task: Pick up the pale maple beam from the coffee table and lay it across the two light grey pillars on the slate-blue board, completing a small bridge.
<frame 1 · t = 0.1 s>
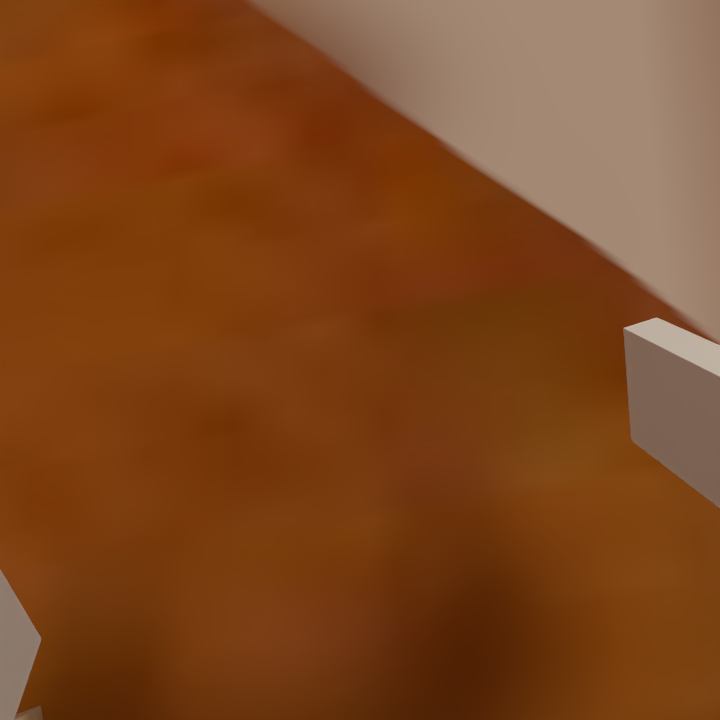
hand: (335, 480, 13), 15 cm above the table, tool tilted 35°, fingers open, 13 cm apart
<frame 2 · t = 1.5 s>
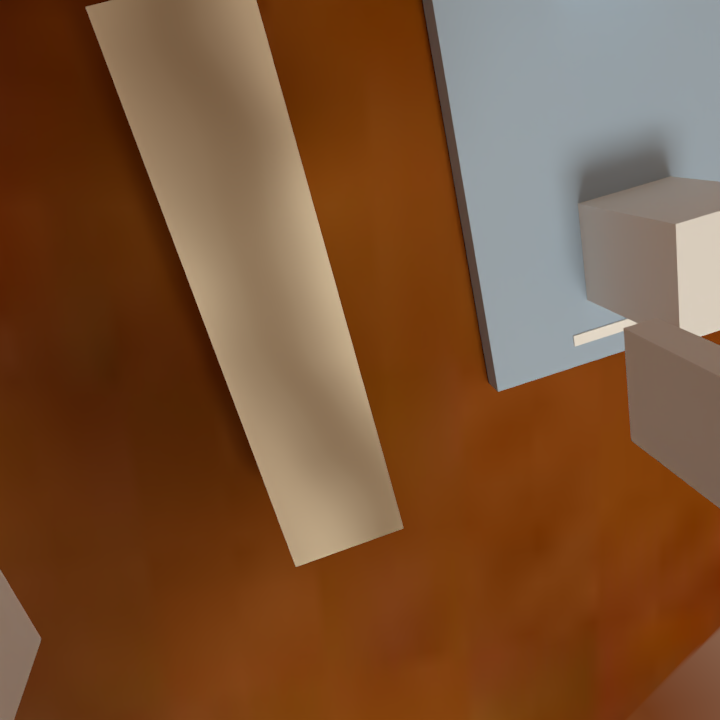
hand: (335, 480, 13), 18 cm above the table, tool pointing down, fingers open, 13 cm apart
maple beam: (262, 277, 30), on the table
blueprint board: (602, 93, 30), on the table
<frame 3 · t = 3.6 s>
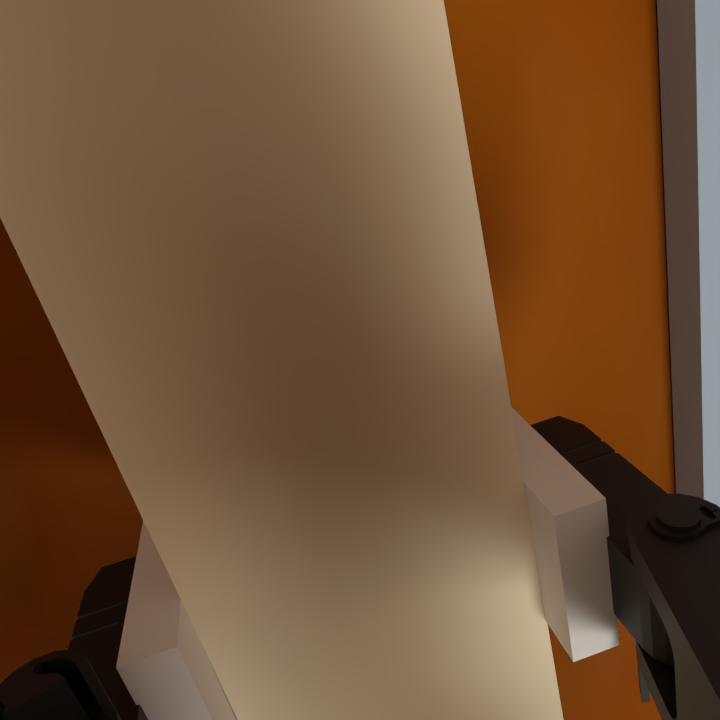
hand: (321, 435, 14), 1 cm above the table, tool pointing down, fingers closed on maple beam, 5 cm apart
maple beam: (312, 410, 16), on the table, touching gripper
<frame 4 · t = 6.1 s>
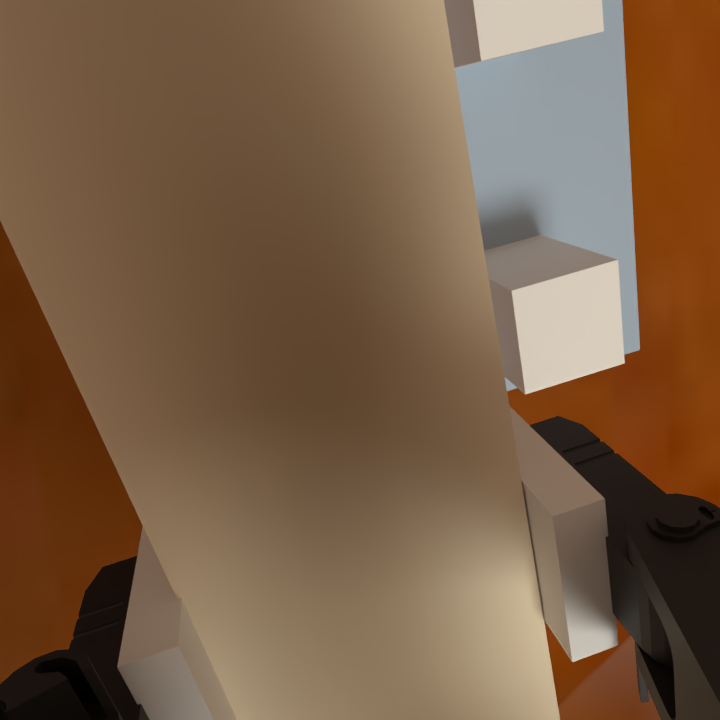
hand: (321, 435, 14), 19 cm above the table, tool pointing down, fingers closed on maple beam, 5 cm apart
maple beam: (310, 410, 16), point 18 cm above the table, touching gripper
blueprint board: (476, 159, 33), on the table
when the fingers open (11 cm above the table, at t = 8.9 s): maple beam drops 2 cm, resting on blueprint board.
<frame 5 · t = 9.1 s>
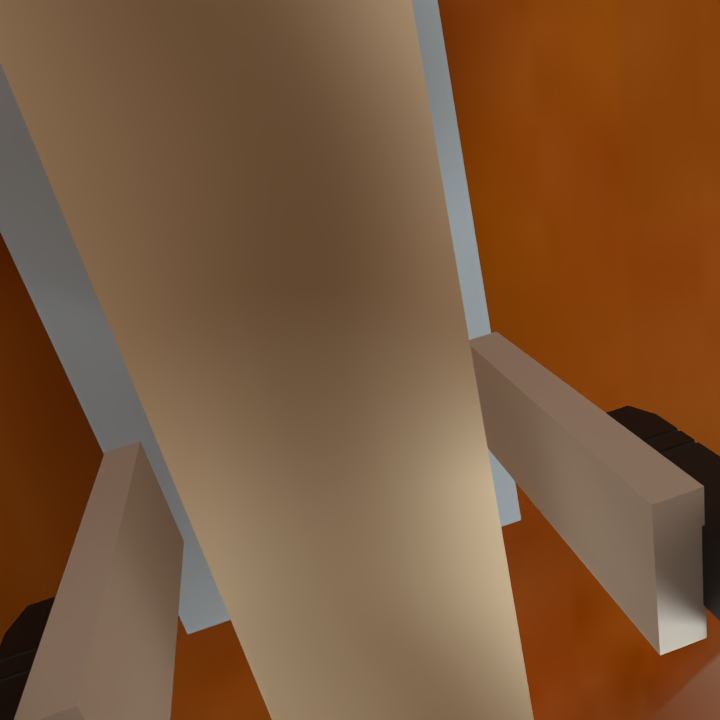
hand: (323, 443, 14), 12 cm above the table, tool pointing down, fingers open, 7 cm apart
maple beam: (305, 384, 17), point 8 cm above the table, touching blueprint board
blueprint board: (277, 304, 25), on the table
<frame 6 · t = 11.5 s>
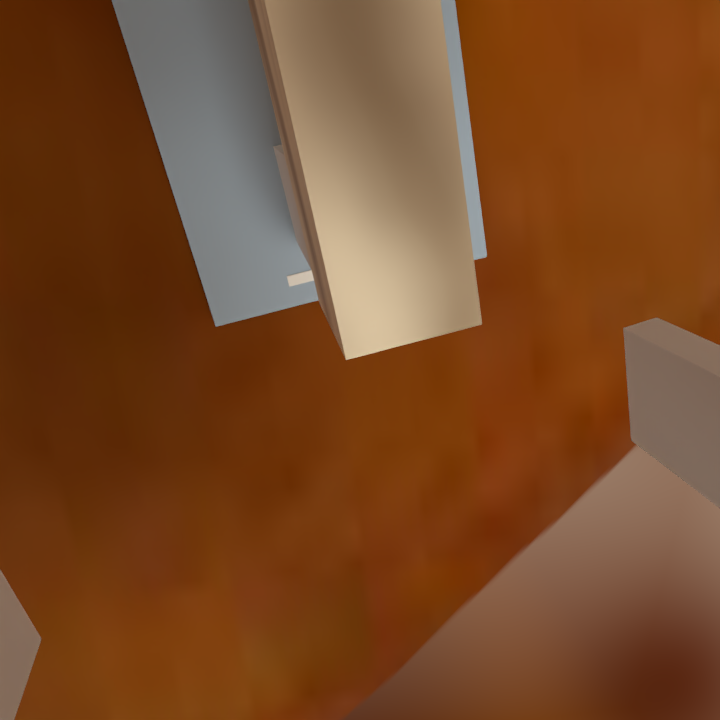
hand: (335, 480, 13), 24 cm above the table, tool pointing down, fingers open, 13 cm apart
maple beam: (319, 19, 24), point 8 cm above the table, touching blueprint board
blueprint board: (297, 41, 31), on the table
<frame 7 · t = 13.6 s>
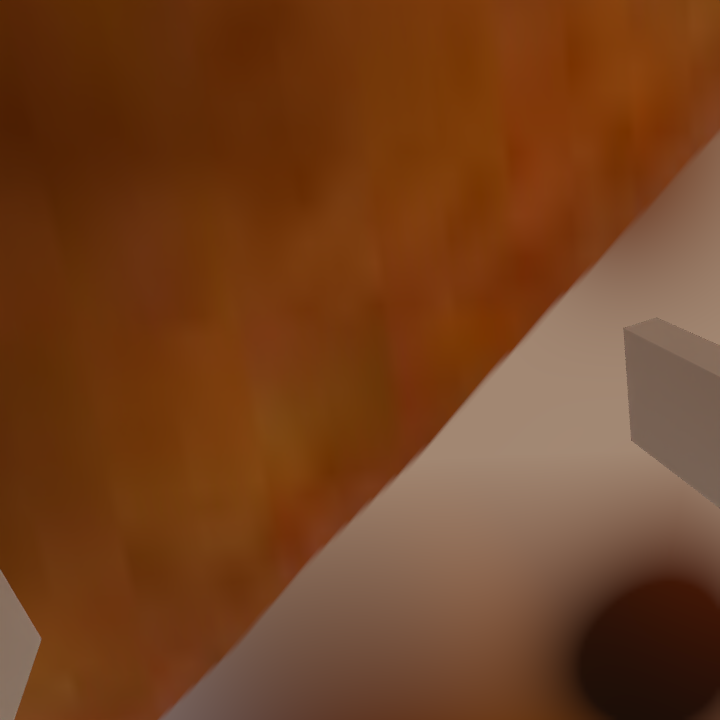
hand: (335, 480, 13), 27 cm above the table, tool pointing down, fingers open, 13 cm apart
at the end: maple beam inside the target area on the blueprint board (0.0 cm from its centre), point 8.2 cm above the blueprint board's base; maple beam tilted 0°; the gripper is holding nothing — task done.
